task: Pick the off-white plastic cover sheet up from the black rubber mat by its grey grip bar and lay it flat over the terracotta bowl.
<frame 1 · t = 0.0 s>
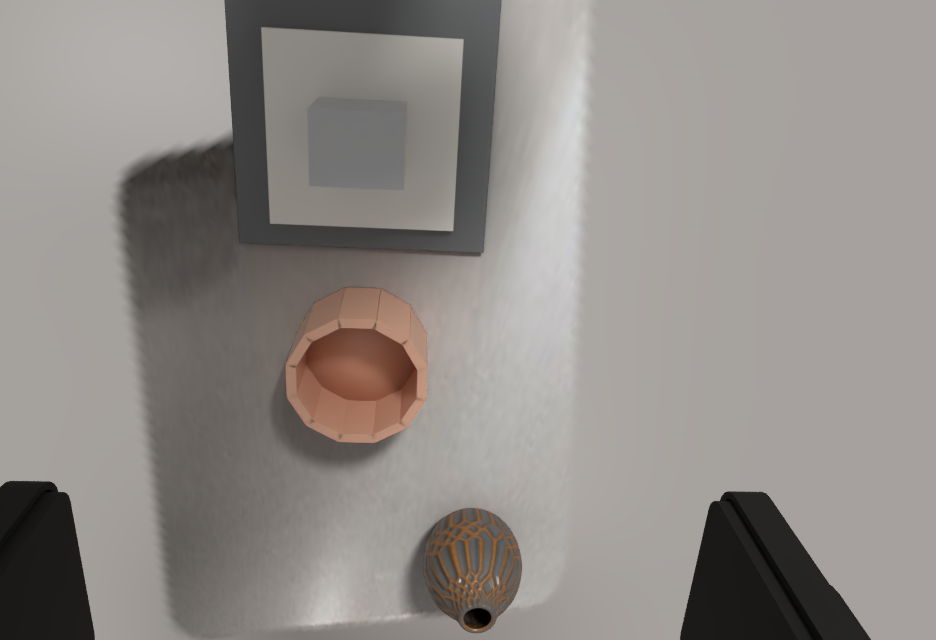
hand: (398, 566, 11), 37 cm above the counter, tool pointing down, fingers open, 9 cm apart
bowl: (362, 347, 50), on the counter
vase: (469, 529, 57), on the counter
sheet: (363, 133, 44), resting on mat
mat: (364, 79, 43), on the counter
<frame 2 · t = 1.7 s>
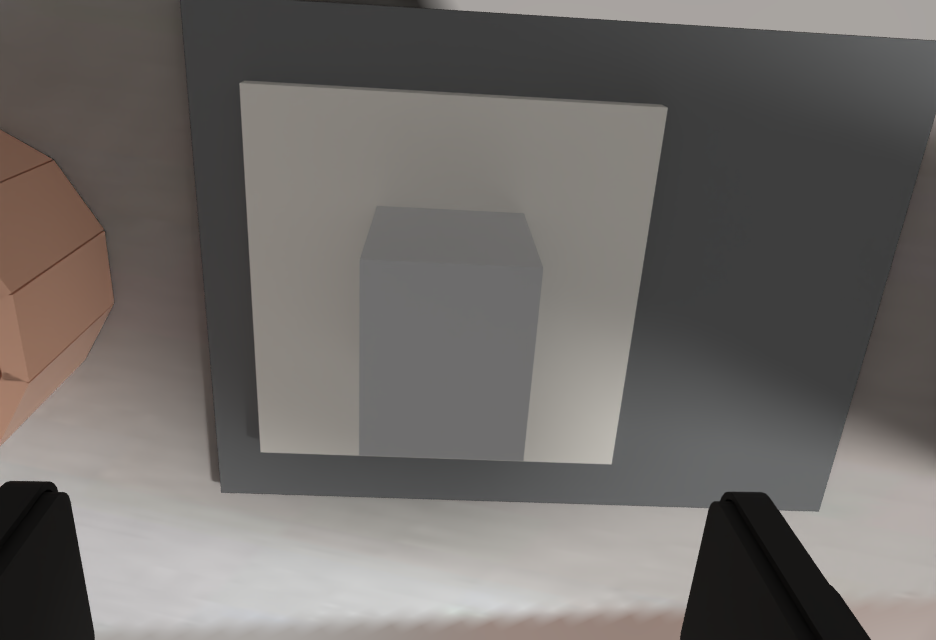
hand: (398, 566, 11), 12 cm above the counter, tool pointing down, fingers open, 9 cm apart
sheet: (446, 287, 22), resting on mat
mat: (546, 287, 23), on the counter
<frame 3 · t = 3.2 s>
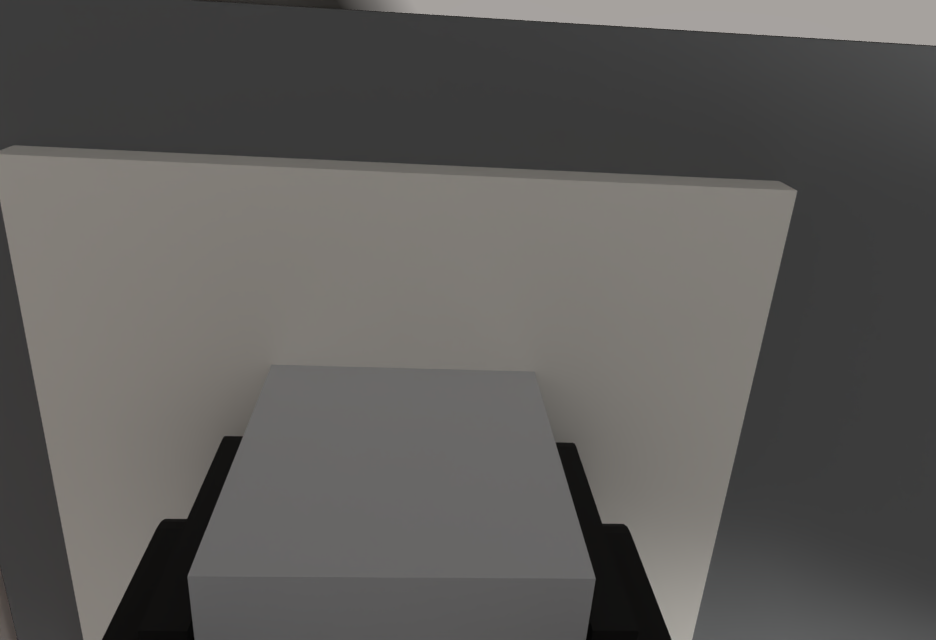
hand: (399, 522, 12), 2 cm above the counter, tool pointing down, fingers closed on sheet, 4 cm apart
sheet: (401, 481, 13), resting on mat, touching gripper
mat: (568, 470, 14), on the counter
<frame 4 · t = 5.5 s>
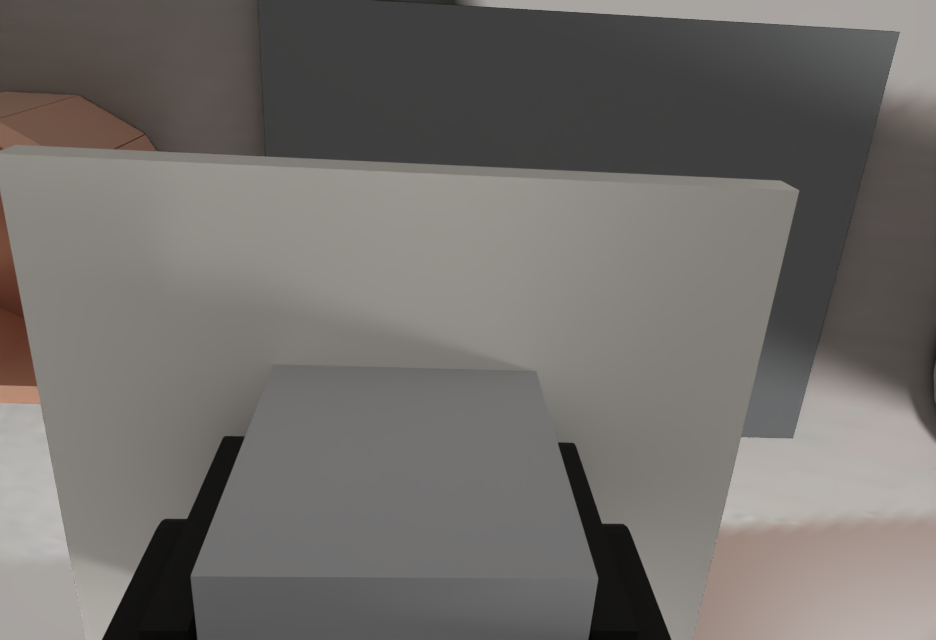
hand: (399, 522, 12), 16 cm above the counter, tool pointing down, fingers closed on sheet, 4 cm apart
bowl: (62, 221, 26), on the counter
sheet: (403, 480, 13), point 14 cm above the counter, touching gripper
mat: (559, 242, 27), on the counter
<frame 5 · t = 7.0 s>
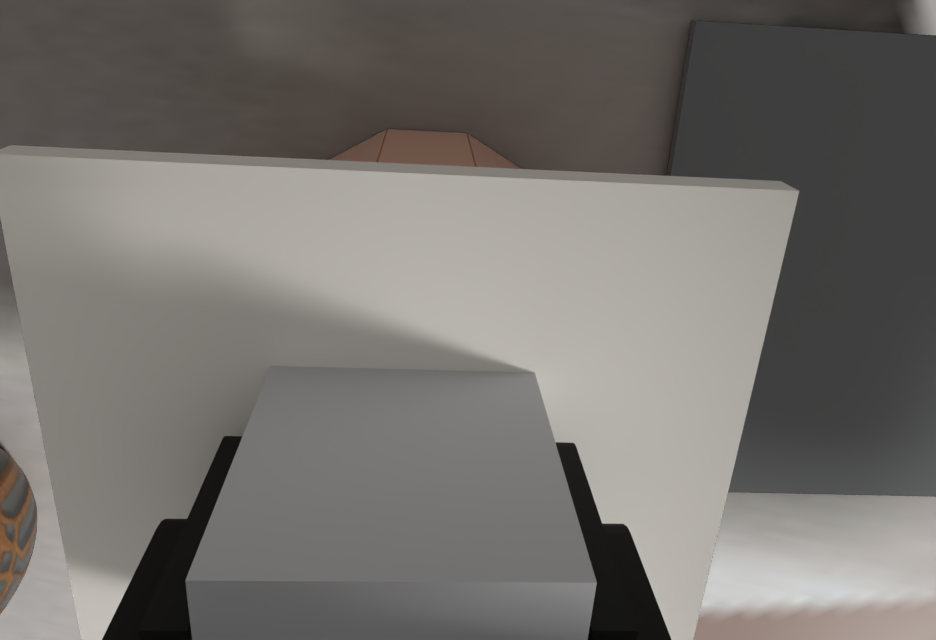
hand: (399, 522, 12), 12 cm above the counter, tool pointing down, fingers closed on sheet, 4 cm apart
bowl: (422, 271, 23), on the counter
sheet: (401, 482, 13), point 11 cm above the counter, touching gripper
when the fingers open (7 cm above the counter, at t = 8.0 s): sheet drops 1 cm, resting on bowl.
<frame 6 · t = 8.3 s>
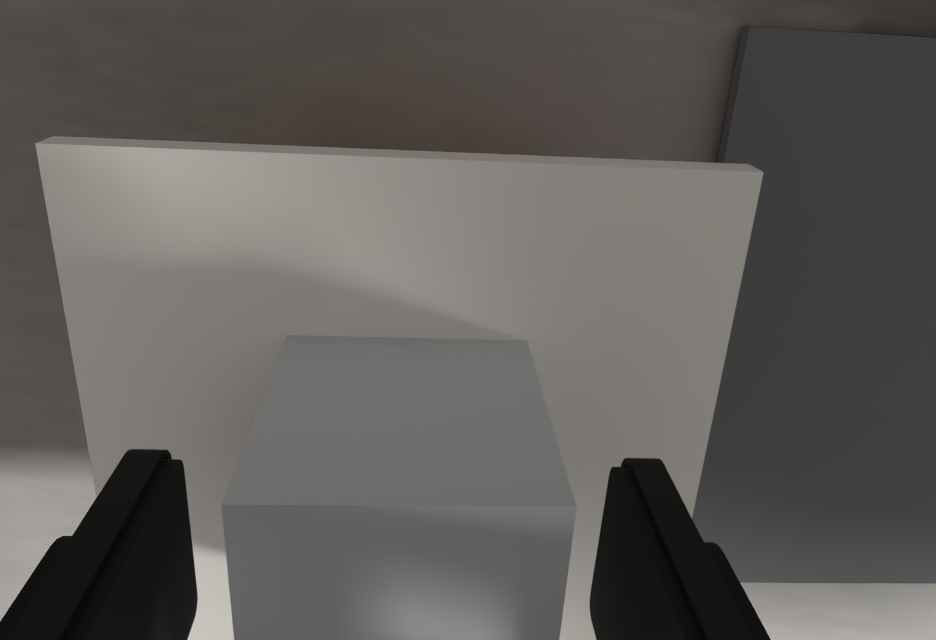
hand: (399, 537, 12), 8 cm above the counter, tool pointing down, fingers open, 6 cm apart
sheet: (405, 445, 14), point 5 cm above the counter, touching bowl
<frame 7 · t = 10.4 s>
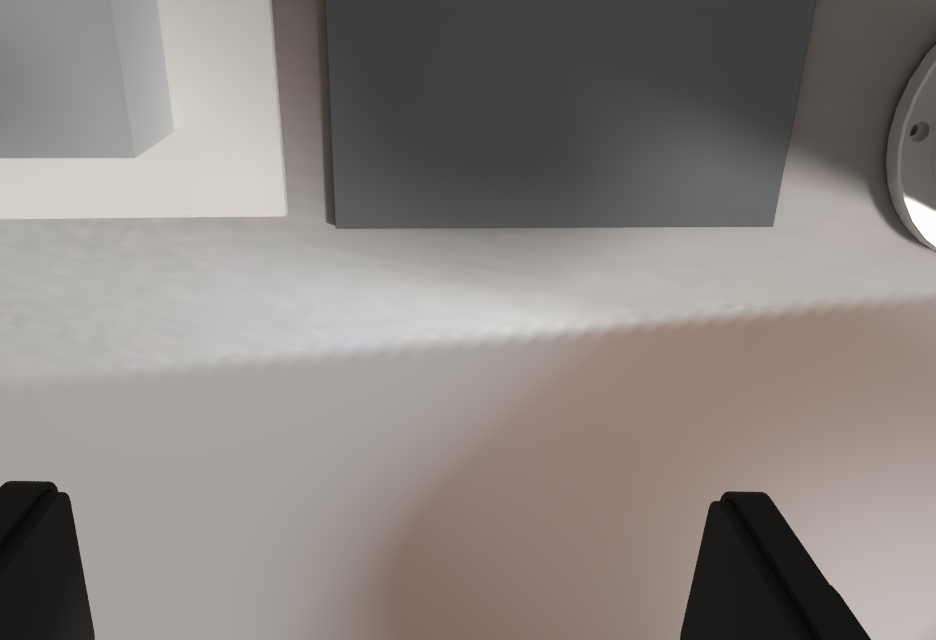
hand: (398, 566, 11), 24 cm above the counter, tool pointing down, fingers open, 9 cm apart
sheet: (106, 51, 25), point 5 cm above the counter, touching bowl
mat: (572, 50, 31), on the counter
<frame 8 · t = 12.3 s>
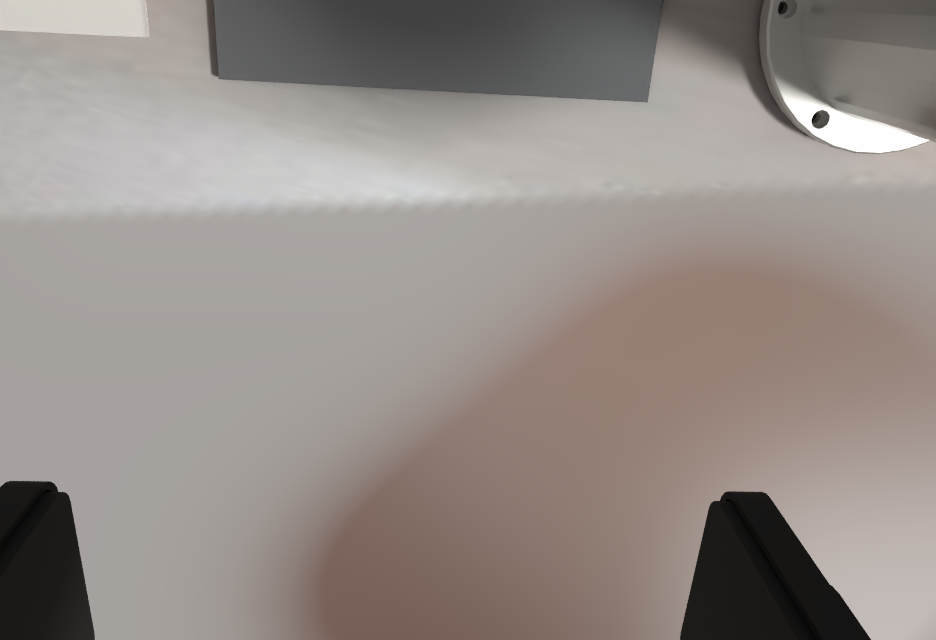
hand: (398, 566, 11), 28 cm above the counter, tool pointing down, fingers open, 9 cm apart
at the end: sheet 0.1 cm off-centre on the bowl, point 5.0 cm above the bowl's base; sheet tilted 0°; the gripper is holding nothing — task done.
